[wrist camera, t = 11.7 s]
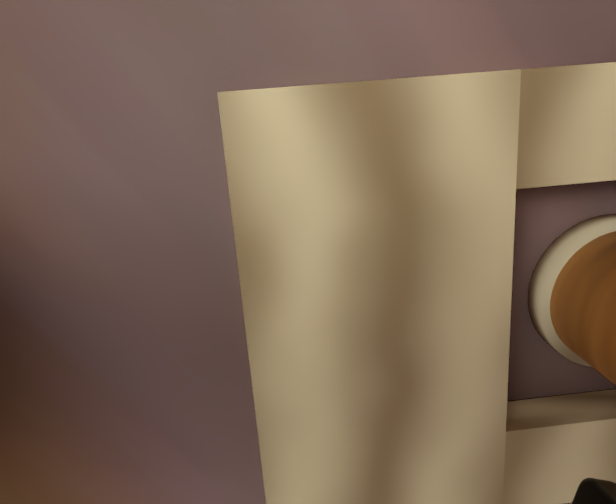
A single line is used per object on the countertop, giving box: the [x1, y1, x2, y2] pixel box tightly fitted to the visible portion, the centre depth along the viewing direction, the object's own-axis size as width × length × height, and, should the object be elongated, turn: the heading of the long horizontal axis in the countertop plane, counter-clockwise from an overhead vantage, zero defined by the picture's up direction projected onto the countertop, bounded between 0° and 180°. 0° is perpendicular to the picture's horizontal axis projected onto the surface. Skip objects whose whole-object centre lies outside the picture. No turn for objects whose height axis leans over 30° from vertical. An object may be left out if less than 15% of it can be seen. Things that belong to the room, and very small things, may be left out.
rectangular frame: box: [217, 62, 616, 504], centre depth 21 cm, size 24×18×2 cm
